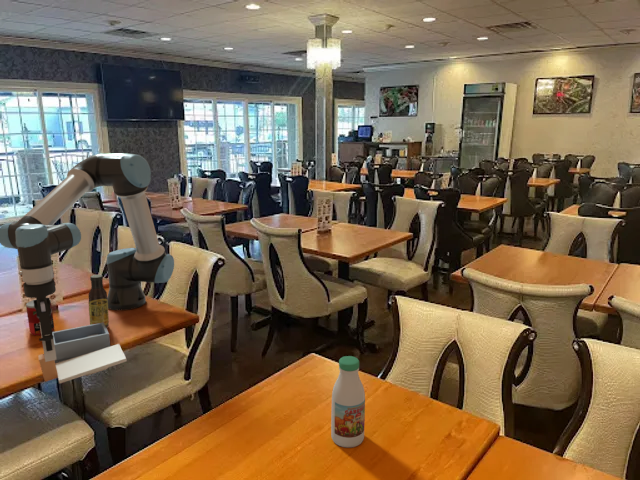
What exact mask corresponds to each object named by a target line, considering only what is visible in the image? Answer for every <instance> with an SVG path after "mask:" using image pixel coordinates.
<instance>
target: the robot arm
mask: <svg viewBox="0 0 640 480" xmlns="http://www.w3.org/2000/svg"><path fill="white" fill-rule="evenodd" d="M151 175H152V171H151V167H150V165H149V162H148V161H147V159H146V158H144V157H143V156H142V155H140V154H134V153H129V152H128V153H96V154H93V155H91V156H89V157H87V158H84V159H83V160H82V161H79V163H76V165H74V166H73V167H72V168H70V169H69V171H67V174H66V177H65V179H63V180H62V181H60V183H59V184H58V185H57V186H55V187H54V188H53V189H51V191H50V192H49V193H48V194H47V195H46V196H44V197H43V198H42V199H41V200H39V202H38V203H36V205H34V206H33V207H32V208H31V209H30V210H29V211H28V212H26V213H25V214H24V215H23V216H22V217H21V218H20V219H19V220H18V221H16V222H10V223H4V224H2V225H1V226H0V245H1V246H2V247H4V248H7V249H15V250H17V255H18V259H19V266H20V270H21V271H18V275H19V276H21V279H22V282H23V284H22V287H23V293H24V296H25V297H26V298H30V299H33V300H32V301H34V308H35V309H36V314H37V317H38V318H39V320H40V322H39V323H40V329H41V335H40V336H41V337H40V338H39V339H38V340H39V342H42V349H43V354H44V356H45V362H48V361H52V360H54V361H55V360H56V352H55V345H54V336H53V334H52V332H53V331H52V328H51V321H50V319H52V316H51V310H50V306H51V305H52V302H51V303H50V300H51V299H50V297H49V296H51V295H53V294H55V292H56V291H57V290H56V282H55V279H54V277H55V271H54V266H53V262H52V261H53V260H52V255H55V254H57V253H60V252H63V251H67V250H71V249H72V248H74V247H76V246H78V245H79V243H80V242H81V240H82V232H81V229H80V228H79V227H78V226H77V225H76V224H74V223H71V222H64V223H60V224H57V225H56V224H55V223H57V221H58V220H60V218H61V217H63V216H64V215H65V214H66V212H67V211H68V210H70V209H71V208H72V207H73V206H74V205H75V204H76V203H77V202H78V201H79V200H80V199H81V198H82V197H83V196H84V195H85V194H86V193H87V194H88V193H91V192H92V191H93V190H94V189H96V188H99V187H112V190H113V192H114V195H115V196H116V197H118V198H120V200H121V203H122V206H123V210H124V214H125V216H126V220H127V222H128V223H127V224H128V227H129V229H130V232H131V236H132V239H133V241H134V245H135V247H129V248H128V247H127V248H122V249H121V248H120V249H117V250H114V251H111V252H109V253H108V254H107V255H106V265H107V274H108V275H107V276H108V284H109V287H108V293H107V301H108V310H111V311H126V310H127V311H128V310H129V311H130V310H132V309H133V310H134V309H136V308H140V307H143V306H144V305H145V304H146V303H147V301H146V299H147V298H146V295H145V293H144V290H143V289H142V286H141V283H152V284H153V283H154V284H159V283H160V284H164V283H165V284H166V283H167V282H168V281H169V280H170V278H171V277H172V275H173V272H174V269H175V259H174V256H173V255H171V254H170V253H166V249H165V247H164V246H163V245H161V244H160V243H159V242H160V241H159V239H158V236H157V235H158V234H157V232H156V228H155V225H154V220H153V218H152V214H151V210H150V206H149V203H148V199H147V194H146V191H147V189H148V188H149V184H150V182H151V181H152V177H151ZM140 282H141V283H140Z"/></svg>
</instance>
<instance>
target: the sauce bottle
mask: <svg viewBox="0 0 640 480" xmlns="http://www.w3.org/2000/svg"><path fill="white" fill-rule="evenodd" d="M89 279H90V284H91V288H90V290H89V293H88V314H89V315H88V316H89V325H92V324H97V323H102V322H104V324H105V326H106V328H107V329H108V327H109V322H110V321H109V308H108V301H107V296H108V293H107V290H105V288H104V281H103V280H104V276H103V274H94V275H93V274H92V275H91V276H90V278H89Z"/></svg>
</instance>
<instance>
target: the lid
mask: <svg viewBox="0 0 640 480" xmlns="http://www.w3.org/2000/svg"><path fill="white" fill-rule="evenodd" d="M37 356H38V362H39V365H40V368H41V372H42V376H43V380H44V382H49V381H52V380H55V379H58V384H62V383H66V382H69V381H72V380H74V379H75V380H76V379H77V378H80V377H83V376H84V377H88V376H91V375H93V374H96V373H99V372H102V371H105V370H108V368H111V367H114V366H116V365H119V364H123V363H126V362H128V361H127V357H126V355H125V353H124V351H123V350H122V348H121V345H120V343H117V344H114V345H110V347H107V348H104V349H100V350H97V351H94V352H91V353H88V354H84V355H81V356H78V357H75V358H72V359H69V360H65V361H62V362H58V363H55V360H52V361H48V362H45V356H44V353H41V354H38V355H37Z"/></svg>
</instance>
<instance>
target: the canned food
mask: <svg viewBox="0 0 640 480" xmlns="http://www.w3.org/2000/svg"><path fill="white" fill-rule="evenodd" d="M50 303H51V306H50V310H51V316H52V319H50V321H51V328H52V332H54V330H55V323H54V314H53V307H52V306H53V305H52V301H51V299H50ZM25 307H26V315H27V321H28V322H27V323H28V330H29V332H30V335H32V336H41V329H40V323H39V322H40V320H39V318H38V317H37V314H36V309H35V308H34V301H33V300H29V301H28V302H26V304H25Z"/></svg>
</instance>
